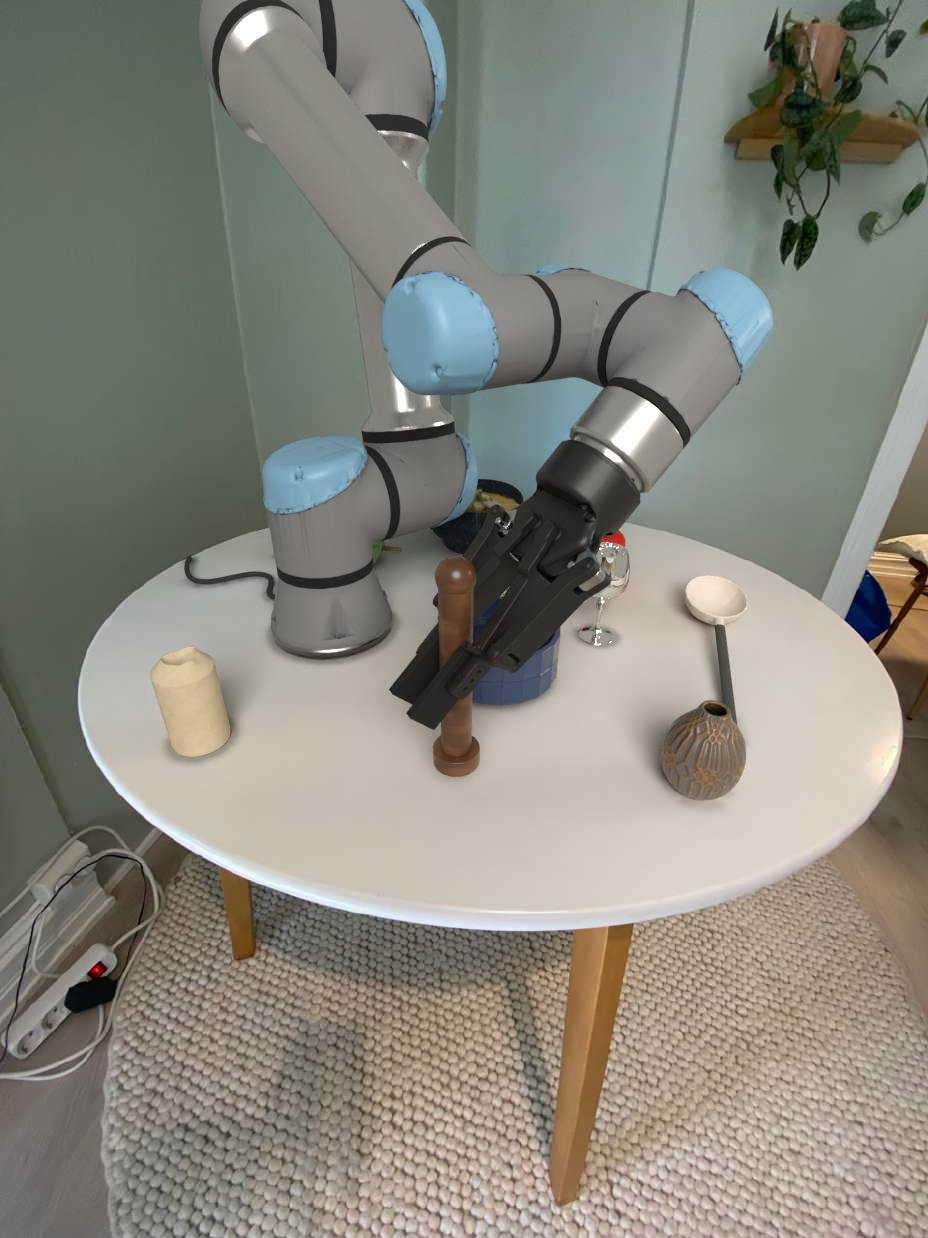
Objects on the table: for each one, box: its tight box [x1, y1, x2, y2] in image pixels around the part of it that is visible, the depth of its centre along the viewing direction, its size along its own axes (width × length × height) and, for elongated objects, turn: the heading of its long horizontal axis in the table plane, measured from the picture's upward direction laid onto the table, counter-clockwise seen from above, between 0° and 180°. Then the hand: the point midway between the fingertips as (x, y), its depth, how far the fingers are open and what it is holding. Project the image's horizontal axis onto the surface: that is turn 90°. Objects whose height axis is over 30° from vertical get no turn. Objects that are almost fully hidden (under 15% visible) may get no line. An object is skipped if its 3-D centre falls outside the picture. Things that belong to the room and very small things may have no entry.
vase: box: [660, 699, 747, 801], centre depth 53 cm, size 7×7×9 cm
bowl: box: [430, 478, 524, 555], centre depth 99 cm, size 17×17×10 cm
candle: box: [149, 646, 231, 758], centre depth 57 cm, size 6×6×10 cm
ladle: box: [684, 574, 749, 728], centre depth 72 cm, size 8×31×4 cm, turn 165°
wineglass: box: [578, 542, 631, 646], centre depth 74 cm, size 6×6×12 cm
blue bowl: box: [436, 596, 562, 706], centre depth 68 cm, size 14×14×6 cm
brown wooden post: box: [432, 555, 481, 778], centre depth 47 cm, size 4×4×19 cm
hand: (411, 709), depth 46 cm, fingers closed on brown wooden post, 3 cm apart
